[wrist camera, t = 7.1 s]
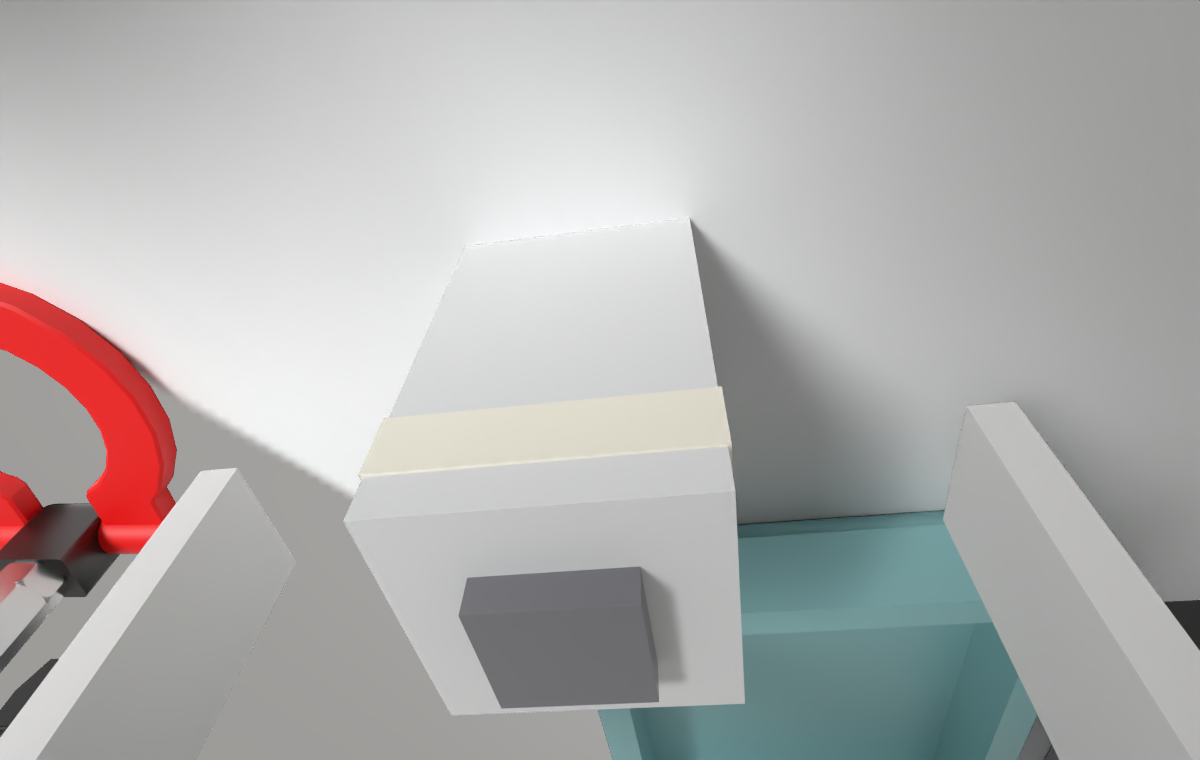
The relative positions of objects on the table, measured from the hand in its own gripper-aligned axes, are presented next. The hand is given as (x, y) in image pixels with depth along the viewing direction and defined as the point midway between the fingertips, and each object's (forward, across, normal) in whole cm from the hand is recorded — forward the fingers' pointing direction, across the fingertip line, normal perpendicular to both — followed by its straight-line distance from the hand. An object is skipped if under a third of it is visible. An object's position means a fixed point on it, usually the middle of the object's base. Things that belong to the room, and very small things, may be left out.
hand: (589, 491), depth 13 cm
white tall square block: (+5, 0, +1) cm, 5 cm away
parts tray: (+5, +5, -15) cm, 17 cm away
